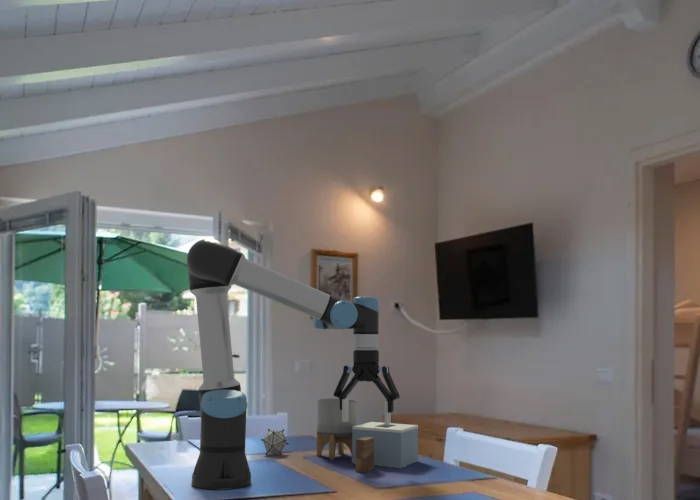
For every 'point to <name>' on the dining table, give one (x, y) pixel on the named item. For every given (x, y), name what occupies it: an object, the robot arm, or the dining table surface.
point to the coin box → (389, 443)
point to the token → (364, 454)
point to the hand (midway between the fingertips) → (366, 423)
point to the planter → (334, 426)
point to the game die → (274, 441)
